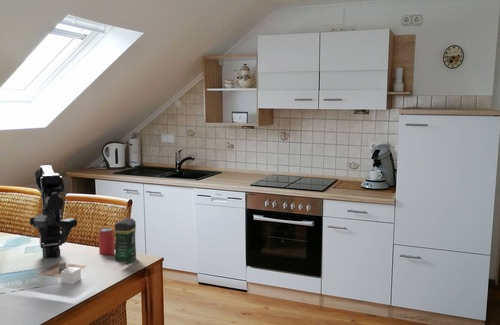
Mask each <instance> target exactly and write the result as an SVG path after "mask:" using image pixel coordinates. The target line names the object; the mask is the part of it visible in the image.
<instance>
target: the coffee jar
mask: <svg viewBox="0 0 500 325" xmlns="http://www.w3.org/2000/svg"><path fill="white" fill-rule="evenodd" d="M136 226H137V223H136V221H135V220H134V218H127V217H125V218H123V219H121V220H118V221H117V222H116V223H115V224H114V237H115V246H114V249H115V254H114V257H115V258H114V260H115V261H116V262H118V263H119V262H120V263H124V265H127V264H129V265H130V264H131V263H133V262H134V261H136V259H137V249H136V229H137V228H136Z"/></svg>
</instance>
